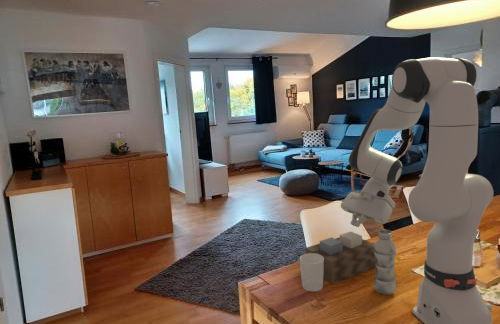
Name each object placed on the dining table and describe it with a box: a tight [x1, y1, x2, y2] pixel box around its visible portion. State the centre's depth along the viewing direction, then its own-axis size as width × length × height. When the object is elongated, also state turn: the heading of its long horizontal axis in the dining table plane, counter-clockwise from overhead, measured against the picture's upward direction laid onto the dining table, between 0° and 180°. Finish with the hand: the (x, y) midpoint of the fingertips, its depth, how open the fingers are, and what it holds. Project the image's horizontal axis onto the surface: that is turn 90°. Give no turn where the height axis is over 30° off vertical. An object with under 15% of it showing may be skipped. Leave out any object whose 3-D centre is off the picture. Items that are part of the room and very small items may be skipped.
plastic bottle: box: [373, 229, 397, 296], centre depth 112 cm, size 6×7×20 cm
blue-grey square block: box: [319, 237, 343, 255], centre depth 128 cm, size 6×6×4 cm
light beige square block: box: [339, 231, 363, 249], centre depth 132 cm, size 6×6×4 cm
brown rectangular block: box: [305, 236, 376, 285], centre depth 131 cm, size 22×14×8 cm, turn 120°
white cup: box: [299, 253, 324, 292], centre depth 119 cm, size 8×8×10 cm
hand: (354, 225), depth 132 cm, fingers closed
